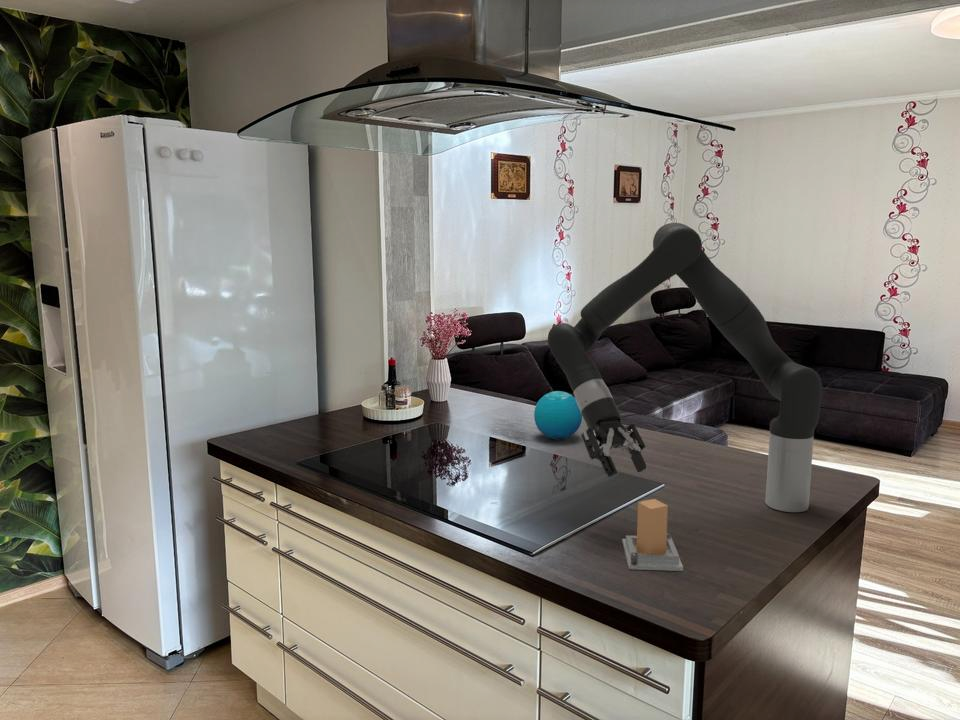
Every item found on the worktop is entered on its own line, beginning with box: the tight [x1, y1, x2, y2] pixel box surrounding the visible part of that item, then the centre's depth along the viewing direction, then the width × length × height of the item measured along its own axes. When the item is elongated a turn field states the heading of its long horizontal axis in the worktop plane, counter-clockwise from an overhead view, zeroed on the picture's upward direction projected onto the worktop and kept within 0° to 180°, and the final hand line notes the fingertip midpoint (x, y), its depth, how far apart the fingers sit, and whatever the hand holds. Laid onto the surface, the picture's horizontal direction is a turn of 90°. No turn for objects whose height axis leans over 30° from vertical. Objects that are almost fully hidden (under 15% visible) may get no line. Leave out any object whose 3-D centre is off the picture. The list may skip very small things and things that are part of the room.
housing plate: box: [621, 532, 684, 572], centre depth 138 cm, size 12×10×3 cm
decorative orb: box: [533, 390, 583, 440], centre depth 219 cm, size 15×15×15 cm
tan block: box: [636, 498, 669, 554], centre depth 138 cm, size 4×4×10 cm
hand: (628, 472), depth 145 cm, fingers open, 8 cm apart
